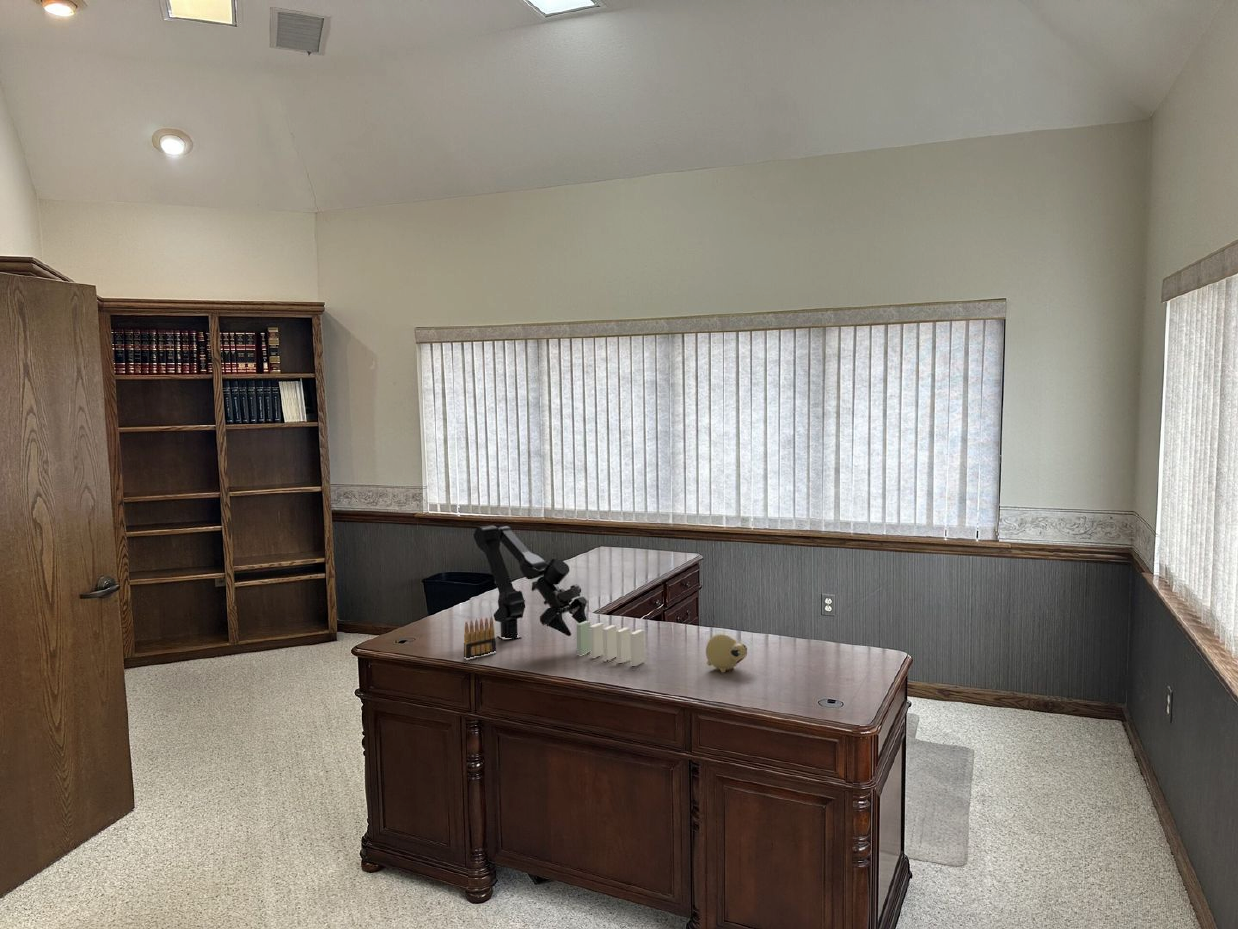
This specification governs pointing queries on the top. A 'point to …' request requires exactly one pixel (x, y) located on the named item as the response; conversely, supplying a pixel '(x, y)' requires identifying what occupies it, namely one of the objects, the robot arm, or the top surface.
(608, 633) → the domino
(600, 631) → the domino
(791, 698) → the top surface
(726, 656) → the beige round figure
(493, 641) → the ammunition clip
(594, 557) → the top surface
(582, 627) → the domino
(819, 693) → the top surface
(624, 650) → the domino
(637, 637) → the domino
